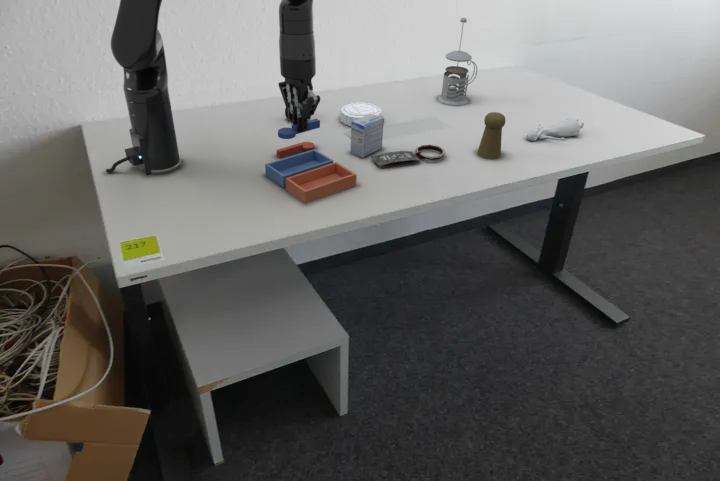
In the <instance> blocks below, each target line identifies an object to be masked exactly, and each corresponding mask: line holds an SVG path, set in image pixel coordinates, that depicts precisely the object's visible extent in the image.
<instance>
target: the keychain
mask: <svg viewBox="0 0 720 481" xmlns="http://www.w3.org/2000/svg"><path fill="white" fill-rule="evenodd" d="M427 150H429V151H435V152H438V153H440V154H439V155H427V154H422V153H421V152H422V151H427ZM445 155H446V151H445V149H444V148H442V147H441V146H438V145H435V144H421V145H418V146H417V147H416V148H415V152H413V151H411V150H396V151H395V150H394V151H389V152H383V153H379V154H376V155H372V156H371V159H372V160H373V161H374V163H375V164H376V165H377V166H378V167H379V168H395V167H405V166H410V165H414V164H416V163H420V162H421V161H422V160H423V161H426V162H439V161H441V160H443V159H444V158H445Z"/></svg>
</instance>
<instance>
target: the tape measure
mask: <svg viewBox="0 0 720 481" xmlns="http://www.w3.org/2000/svg"><path fill="white" fill-rule="evenodd" d="M303 109H304V107H302V111H303ZM284 116H285V118H286V119H287V120H289V121H292V114H291V112H290V109H289V108H288V109H287V108H286V107H285V109H284ZM311 118H312V116H308V117H307V121H309V120H311Z"/></svg>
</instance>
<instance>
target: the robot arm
mask: <svg viewBox="0 0 720 481" xmlns="http://www.w3.org/2000/svg"><path fill="white" fill-rule="evenodd" d="M162 3H163V0H120V1H119V5H118V11H117V13H116V14H117V15H116V19H115V23H114V26H113V30H112V33H111V38H110V50H111V53H112V56H113V58H114V60H115V61H116V62H117V64H118V65H119V66H120V67H122V69H123V86H122V88H123V89H122V90H123V93H124V100H125V103H126V107H127V108H126V109H127V113H128V117H129V122H130V126H131V128H129V135H130V141H131V144H132V147H128V148H124V153H125V157H123V158H122V159H119V160H117V161H115V162H114V163H113V164H112V166H111V168H106V169H105V172H106V173H112V172H114V171H115V170H116V168H117V167H118V166H119V165H120V164H123V163H125V162H129V163H130V164H131V165H132V166H133V167H137V168H138V169H139V170H140V172H142V173H143V174H144V175H145V176H150V175H165V174H169V173H172V172H175V171H176V170H178V169H179V168H180V167H181V165H182V162H181V157H180V152H179V146H178V141H177V135H176V129H175V122H174V116H173V111H172V110H173V109H172V105H171V98H170V93H169V92H170V91H169V73H168V66H167V60H166V59H167V58H166V52H165V46H164V40H163V37H162V34H161V33H160V31H159V29H158V28H159V18H160V17H159V16H160V10H161V6H162ZM314 18H315V17H314V0H281V1H280V3H279V6H278V25H279V26H278V28H279V36H278V48H279V49H278V51H279V67H280V68H279V69H280V75H281V77H282V78H284V81H280V82H278V88H279V91H280V95H281V96H282V97H281V98H282V100H283V102H284V105H285V108H287V109H288V108H289V109H290V112H291V114H292V122H291V123H292V125H295V124H297V126H298V132H300V133H299V134H303V133H305V132H308V131H307V128H308V126H307V125H308V123H307V121H308V120H307V117H308V116H311V117H312V116H314V115H315V112H316V111H317V108H318V105H319V103H320V102H321V96H320V95H319V94H317V95H316V94H315V93H314V86H313V82H312V80H313V78H314V77H315V76H316V74H317V71H316V69H317V66H316V65H317V64H316V38H315V25H314V24H315V23H314V22H315V21H314ZM302 107H304V109H303V111H302ZM302 132H303V133H302Z"/></svg>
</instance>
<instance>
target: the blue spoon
mask: <svg viewBox="0 0 720 481" xmlns="http://www.w3.org/2000/svg"><path fill="white" fill-rule="evenodd" d="M307 123H308V125H307V126H308V128H307V131H306V132H309V131H312V130H316V129H319V128H321V120H320V119H318V118H313V119H308V120H307ZM303 133H304V132H302V133H300V132H298V126H297V124H295V125H293V124H292V125H291V126H290V127H281V128H279V129H278V130H277V137H278V138H280V139H282V140H291V139H294V138H296V137H297V135H299V134H303Z"/></svg>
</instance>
